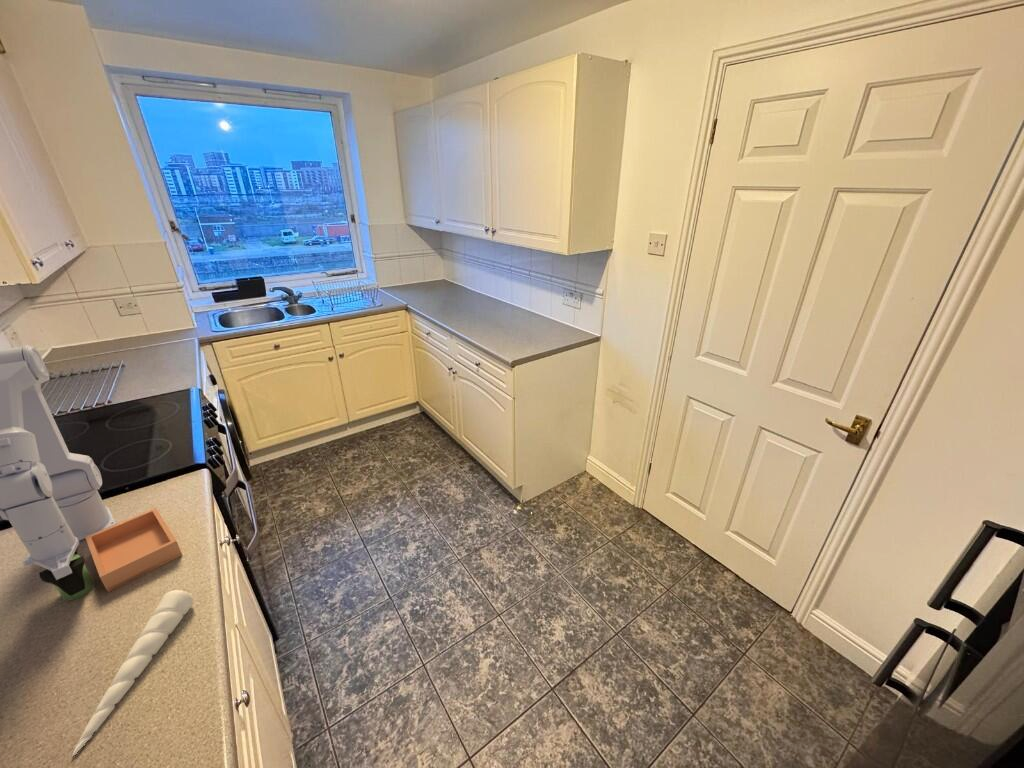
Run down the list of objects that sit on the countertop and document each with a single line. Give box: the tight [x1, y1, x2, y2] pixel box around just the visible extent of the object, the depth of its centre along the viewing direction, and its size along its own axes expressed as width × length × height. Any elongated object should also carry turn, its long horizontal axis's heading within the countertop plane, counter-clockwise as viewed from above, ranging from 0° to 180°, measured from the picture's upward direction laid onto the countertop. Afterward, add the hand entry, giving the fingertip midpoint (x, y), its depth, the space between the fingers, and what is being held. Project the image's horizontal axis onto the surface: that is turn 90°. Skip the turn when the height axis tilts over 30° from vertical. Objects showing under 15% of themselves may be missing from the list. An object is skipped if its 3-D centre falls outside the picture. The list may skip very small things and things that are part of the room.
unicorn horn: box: [71, 589, 194, 757], centre depth 66 cm, size 5×24×5 cm, turn 1°
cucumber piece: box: [45, 553, 96, 601], centre depth 79 cm, size 4×4×7 cm
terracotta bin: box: [85, 507, 183, 593], centre depth 88 cm, size 16×12×4 cm
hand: (75, 584), depth 80 cm, fingers closed on cucumber piece, 4 cm apart
